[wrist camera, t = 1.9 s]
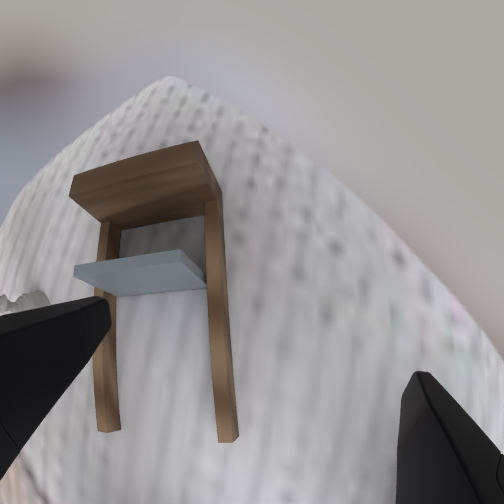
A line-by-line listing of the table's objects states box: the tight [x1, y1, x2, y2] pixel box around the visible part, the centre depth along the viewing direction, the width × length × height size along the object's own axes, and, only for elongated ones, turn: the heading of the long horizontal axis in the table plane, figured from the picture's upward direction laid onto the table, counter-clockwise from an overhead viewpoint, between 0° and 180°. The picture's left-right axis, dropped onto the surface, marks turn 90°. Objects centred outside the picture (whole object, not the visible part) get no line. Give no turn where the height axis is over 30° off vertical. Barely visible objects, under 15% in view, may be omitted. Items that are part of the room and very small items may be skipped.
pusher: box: [74, 249, 207, 297], centre depth 21 cm, size 1×8×6 cm, turn 95°
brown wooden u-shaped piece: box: [69, 141, 239, 443], centre depth 20 cm, size 20×11×7 cm, turn 5°
